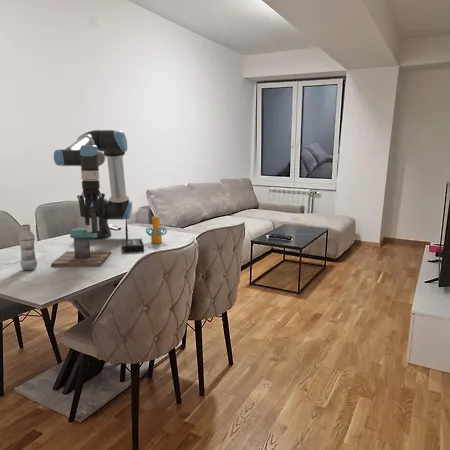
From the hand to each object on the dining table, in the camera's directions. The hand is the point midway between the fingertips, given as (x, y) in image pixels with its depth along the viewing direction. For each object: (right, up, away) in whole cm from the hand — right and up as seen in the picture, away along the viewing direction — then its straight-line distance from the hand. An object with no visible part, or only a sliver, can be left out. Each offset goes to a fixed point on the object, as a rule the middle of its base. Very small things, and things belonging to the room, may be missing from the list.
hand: (93, 231), depth 180 cm
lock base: (-8, -14, +9) cm, 19 cm away
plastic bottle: (-26, -17, -7) cm, 32 cm away
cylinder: (+21, -7, +47) cm, 52 cm away
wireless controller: (+10, -10, +34) cm, 37 cm away
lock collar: (-5, -3, +5) cm, 8 cm away
